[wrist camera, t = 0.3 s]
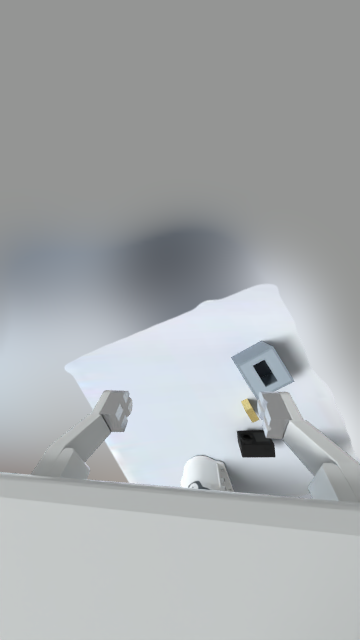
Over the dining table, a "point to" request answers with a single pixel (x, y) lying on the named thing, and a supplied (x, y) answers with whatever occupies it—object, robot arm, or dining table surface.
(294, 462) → the dining table surface
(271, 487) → the dining table surface
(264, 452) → the digital camera
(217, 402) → the dining table surface
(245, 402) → the block
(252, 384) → the box
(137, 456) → the dining table surface
